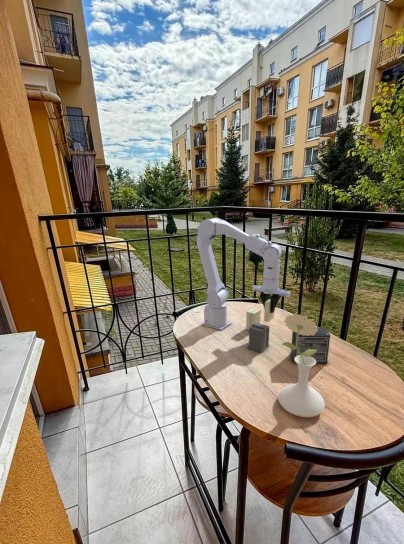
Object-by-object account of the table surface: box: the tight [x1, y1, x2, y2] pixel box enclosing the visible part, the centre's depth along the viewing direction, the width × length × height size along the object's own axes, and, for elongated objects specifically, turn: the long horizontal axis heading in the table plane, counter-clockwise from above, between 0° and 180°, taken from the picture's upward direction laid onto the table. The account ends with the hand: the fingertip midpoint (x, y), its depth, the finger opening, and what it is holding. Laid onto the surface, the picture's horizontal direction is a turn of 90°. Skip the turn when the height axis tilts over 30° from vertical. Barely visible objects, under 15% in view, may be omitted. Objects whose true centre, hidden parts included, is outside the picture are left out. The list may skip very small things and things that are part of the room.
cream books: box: [245, 307, 262, 331], centre depth 115 cm, size 4×5×8 cm
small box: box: [290, 326, 331, 365], centre depth 92 cm, size 11×6×10 cm, turn 84°
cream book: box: [263, 299, 275, 323], centre depth 108 cm, size 5×2×8 cm, turn 142°
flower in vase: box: [277, 313, 326, 418], centre depth 69 cm, size 13×11×25 cm
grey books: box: [248, 323, 270, 353], centre depth 100 cm, size 5×6×9 cm
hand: (269, 311), depth 108 cm, fingers closed on cream book, 2 cm apart
